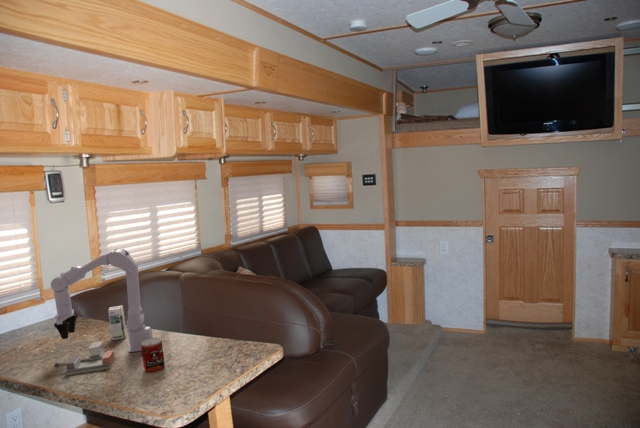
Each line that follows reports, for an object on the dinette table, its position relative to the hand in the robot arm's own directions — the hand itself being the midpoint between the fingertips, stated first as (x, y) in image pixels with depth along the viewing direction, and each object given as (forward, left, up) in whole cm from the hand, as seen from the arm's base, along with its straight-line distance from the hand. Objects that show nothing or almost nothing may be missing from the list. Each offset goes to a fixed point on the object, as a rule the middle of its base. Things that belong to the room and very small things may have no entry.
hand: (68, 335), depth 212 cm
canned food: (-37, +26, -10) cm, 47 cm away
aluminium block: (-11, +4, -10) cm, 16 cm away
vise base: (-9, +14, -10) cm, 19 cm away
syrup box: (-15, -19, -10) cm, 27 cm away
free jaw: (-18, +14, -9) cm, 24 cm away
